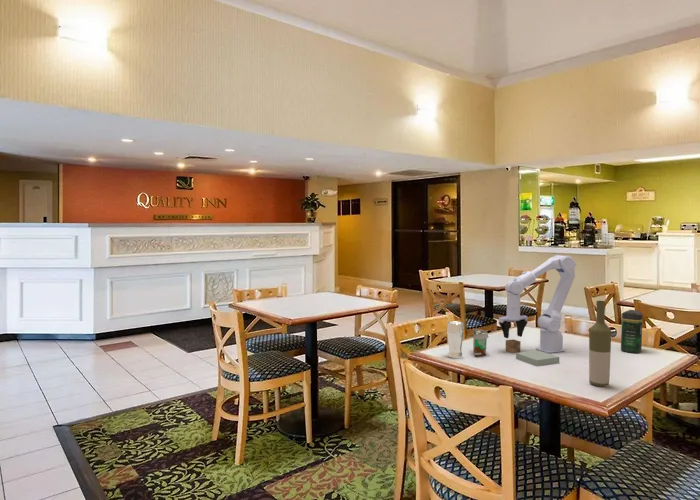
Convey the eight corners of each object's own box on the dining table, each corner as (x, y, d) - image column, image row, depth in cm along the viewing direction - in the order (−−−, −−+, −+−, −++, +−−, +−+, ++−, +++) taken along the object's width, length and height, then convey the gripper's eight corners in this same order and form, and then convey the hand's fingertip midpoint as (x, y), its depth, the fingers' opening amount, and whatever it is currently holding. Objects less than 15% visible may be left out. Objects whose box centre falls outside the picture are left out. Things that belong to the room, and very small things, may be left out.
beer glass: (466, 356, 207) (466, 322, 206) (458, 359, 202) (458, 324, 201) (452, 353, 212) (452, 320, 211) (443, 356, 207) (444, 322, 206)
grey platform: (537, 356, 207) (537, 350, 207) (559, 364, 196) (559, 357, 196) (516, 360, 203) (516, 353, 203) (536, 367, 192) (536, 360, 192)
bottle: (589, 386, 167) (590, 302, 166) (587, 380, 174) (588, 299, 172) (611, 388, 165) (613, 303, 163) (608, 382, 171) (610, 300, 170)
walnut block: (513, 350, 218) (513, 339, 218) (520, 352, 214) (520, 341, 213) (505, 351, 216) (505, 340, 216) (512, 353, 212) (512, 342, 212)
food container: (489, 358, 204) (489, 335, 204) (474, 357, 205) (474, 334, 205) (487, 350, 216) (487, 329, 216) (473, 350, 217) (473, 328, 217)
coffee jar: (639, 354, 209) (640, 312, 208) (619, 351, 214) (620, 310, 213) (643, 350, 216) (644, 309, 215) (623, 347, 221) (624, 308, 220)
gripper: (519, 304, 220) (519, 333, 221) (494, 306, 215) (494, 336, 216) (530, 307, 214) (530, 337, 214) (505, 309, 208) (504, 339, 209)
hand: (512, 337), depth 215 cm, fingers open, 7 cm apart
